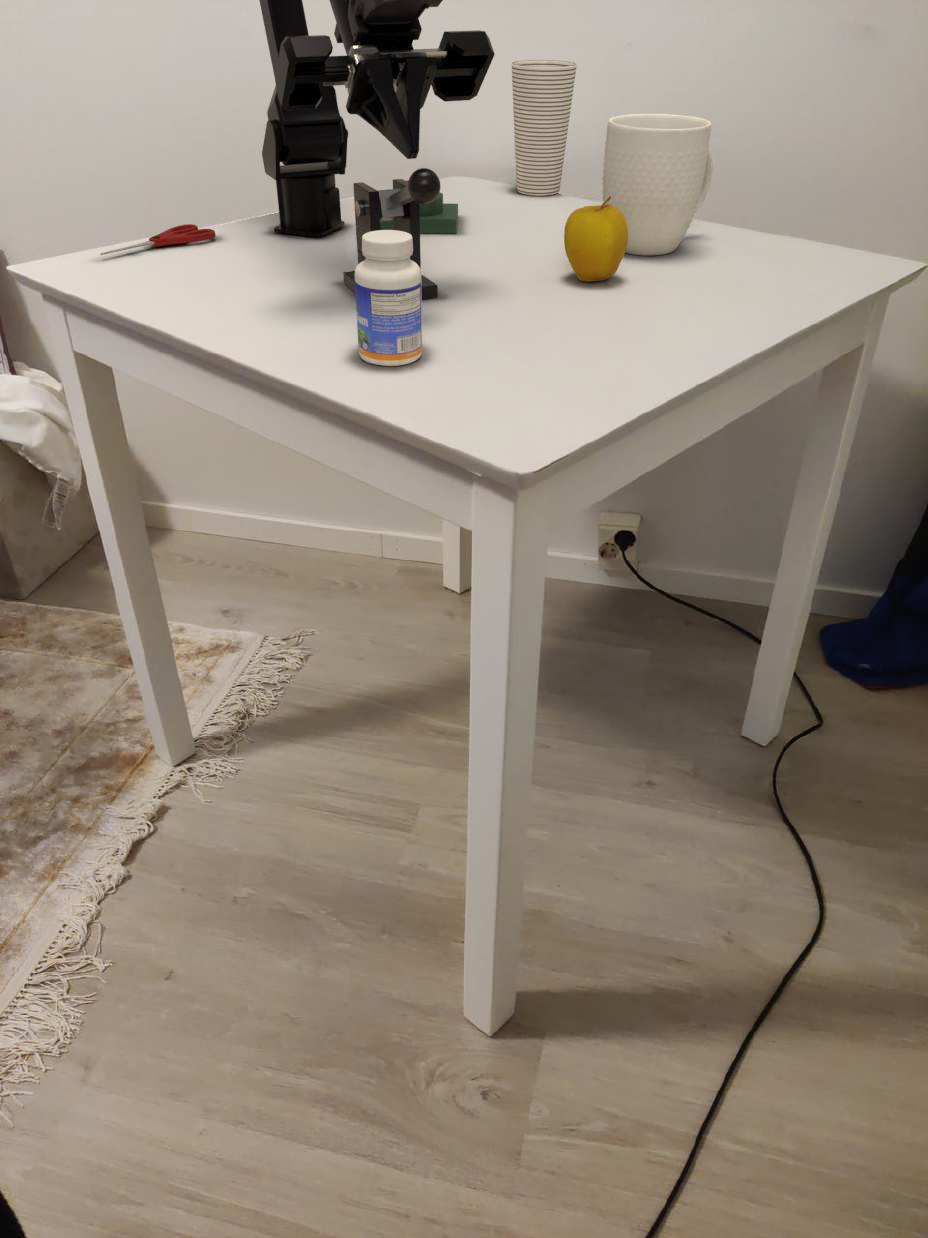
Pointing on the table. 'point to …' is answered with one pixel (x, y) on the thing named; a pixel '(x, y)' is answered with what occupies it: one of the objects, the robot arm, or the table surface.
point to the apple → (595, 241)
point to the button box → (433, 218)
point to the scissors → (174, 237)
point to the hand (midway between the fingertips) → (413, 155)
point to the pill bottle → (388, 299)
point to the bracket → (370, 221)
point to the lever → (409, 194)
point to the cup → (541, 122)
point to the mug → (656, 176)
